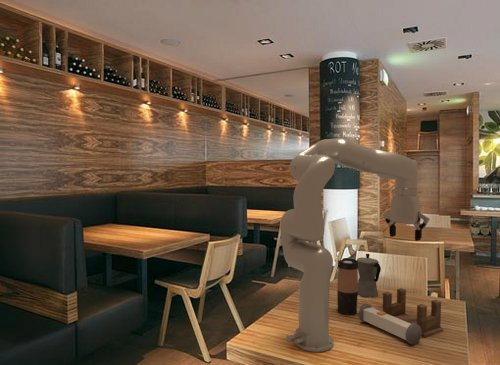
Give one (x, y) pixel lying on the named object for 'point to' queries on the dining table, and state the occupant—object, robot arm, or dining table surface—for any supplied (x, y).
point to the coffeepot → (368, 276)
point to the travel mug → (347, 286)
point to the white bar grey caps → (390, 324)
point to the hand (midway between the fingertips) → (405, 238)
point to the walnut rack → (427, 323)
